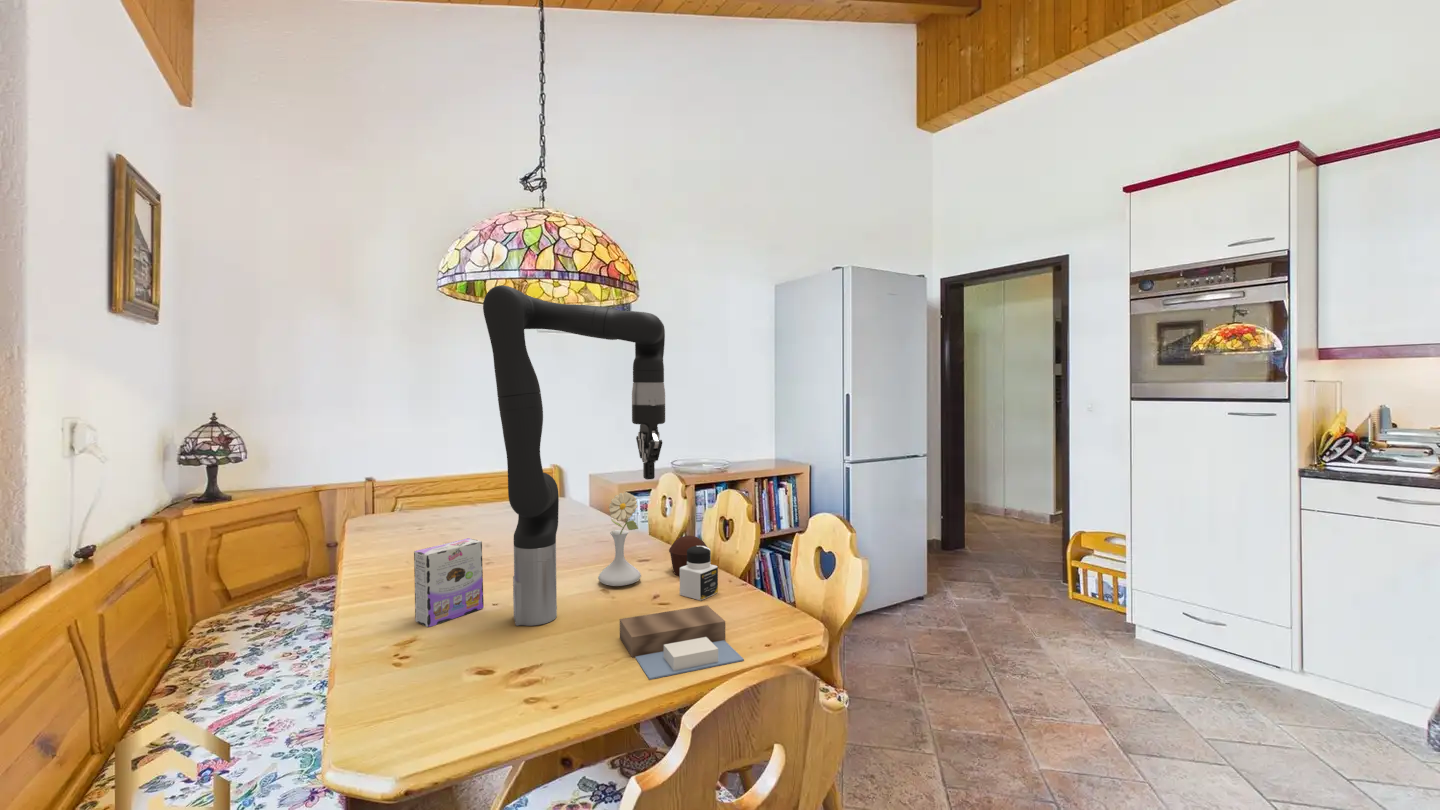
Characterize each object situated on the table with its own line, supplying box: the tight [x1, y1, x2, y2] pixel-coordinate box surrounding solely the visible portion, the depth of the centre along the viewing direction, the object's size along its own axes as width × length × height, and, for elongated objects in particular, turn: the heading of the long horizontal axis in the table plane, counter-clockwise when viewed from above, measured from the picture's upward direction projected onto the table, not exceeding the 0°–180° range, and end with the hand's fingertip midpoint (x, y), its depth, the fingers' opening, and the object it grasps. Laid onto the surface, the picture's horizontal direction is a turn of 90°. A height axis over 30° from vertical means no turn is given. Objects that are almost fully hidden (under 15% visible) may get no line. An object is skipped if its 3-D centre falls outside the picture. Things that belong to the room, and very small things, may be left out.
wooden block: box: [619, 604, 726, 658], centre depth 127 cm, size 20×10×4 cm, turn 113°
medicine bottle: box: [679, 546, 719, 602], centre depth 154 cm, size 7×7×12 cm
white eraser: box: [664, 637, 718, 671], centre depth 117 cm, size 9×6×2 cm, turn 114°
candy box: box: [413, 538, 485, 628], centre depth 140 cm, size 14×6×16 cm, turn 145°
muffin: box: [668, 535, 708, 577], centre depth 172 cm, size 12×11×10 cm
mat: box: [634, 639, 745, 681], centre depth 118 cm, size 19×10×1 cm, turn 113°
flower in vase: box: [597, 491, 642, 587], centre depth 162 cm, size 13×11×25 cm
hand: (649, 478), depth 137 cm, fingers closed
